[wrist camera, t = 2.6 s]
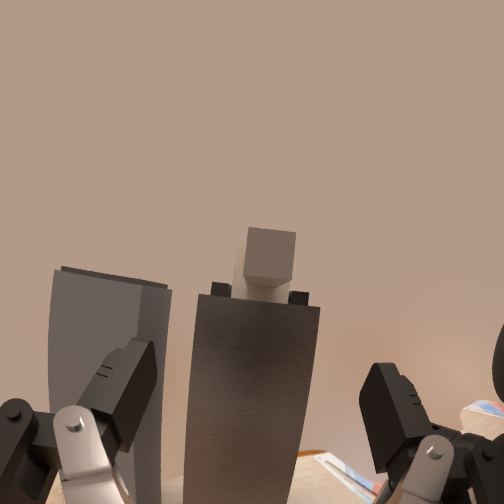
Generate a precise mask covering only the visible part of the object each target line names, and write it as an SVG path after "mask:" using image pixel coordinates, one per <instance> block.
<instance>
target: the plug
mask: <svg viewBox="0 0 504 504" xmlns="http://www.w3.org/2000/svg"><path fill="white" fill-rule="evenodd" d="M295 237H296V232H288V231H279V230H270V229H261V228H252V227H249V228H248V235H247V243H244V242H237V250H236V259H235V267H234V276H233V284H232V292H231V298H237V299H245V300H254V301H263V302H272V303H282V304H288V297H289V287H290V281H291V280H292V270H293V260H294V249H295Z"/></svg>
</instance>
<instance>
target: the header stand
mask: <svg viewBox="0 0 504 504" xmlns="http://www.w3.org/2000/svg"><path fill="white" fill-rule="evenodd" d="M231 292H232V286H231V285H230V284H226V283H218V282H212V287H211V295H204V294H199V296H198V304H197V313H196V322H195V331H194V340H193V351H192V361H191V372H190V384H189V396H188V410H187V424H186V441H185V460H184V485H183V504H286V503H287V499H288V495H289V491H290V487H291V482H292V478H293V474H294V469H295V465H296V460H297V455H298V450H299V445H300V440H301V435H302V430H303V424H304V419H305V414H306V408H307V402H308V396H309V390H310V383H311V377H312V370H313V363H314V356H315V349H316V341H317V333H318V324H319V315H320V307H314V306H308V299H309V293H308V292H298V291H290V292H289V297H288V304H282V303H272V302H263V301H254V300H245V299H237V298H231Z"/></svg>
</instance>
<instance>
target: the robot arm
mask: <svg viewBox="0 0 504 504" xmlns="http://www.w3.org/2000/svg"><path fill="white" fill-rule="evenodd" d="M492 375H493V383H494V387H495V390H496V393H497V395H498V397H499V398H500V400H501V401H502V402H503V403H504V324H503V327H502V329H501V332H500V334H499V337H498V340H497V343H496V347H495V351H494V357H493V364H492ZM156 382H157V364H156V356H155V348H154V343H153V341H151V340H146V339H141V338H136V337H132V338H131V339H130V341H129V342H128V344H127V346H126V347H125V349H122V348H117V349H115V350H114V351H112V352H111V353H109V354H108V355H107V356H106V358H105V359H104V361H103V362H102V364H101V367H99V369H98V370H97V372H96V375H94V376H93V378H92V379H91V381H90V383H89V384H88V386H87V387H86V389H85V391H84V392H83V394H82V395H81V397H80V399H79V400H78V402H77V403H76V405H72V406H67V407H64V408H62V409H61V410H60V411H58V412H57V414H54V413H44V412H36V411H33V410H32V408H31V406H30V405H29V404H28V402H26V401H25V400H23V399H18V398H14V399H10V400H8V401H6V402H5V403H3V404H2V406H1V407H0V504H45V503H46V500H47V498H48V495H49V492H50V490H51V487H52V485H53V482H54V480H55V477H56V475H57V472H58V470H59V469H63V472H64V476H65V480H62V490H63V493H64V497H65V500H66V503H67V504H135V503H134V501H133V499H132V497H131V495H130V493H129V491H128V489H127V487H126V485H125V482H124V480H123V478H122V475H121V473H120V471H119V468H118V466H117V463H116V461H115V457H116V455H117V452H118V451H121V452H125V453H129V450H130V448H131V445H132V442H133V440H134V437H135V435H136V432H137V430H138V427H139V425H140V422H141V420H142V417H143V415H144V412H145V410H146V407H147V405H148V403H149V400H150V398H151V395H152V393H153V390H154V388H155V385H156ZM417 395H418V394H417V392H416V390H415V388H414V385H413V384H412V383H411V382H410V381H409V380H408V379H407V378H406V377H405V376H404V375H402V376H400V374H399V372H398V369H397V367H396V365H395V364H394V363H374V364H373V365H372V367H371V369H370V371H369V374H368V376H367V378H366V380H365V382H364V385H363V387H362V389H361V391H360V396H359V405H360V409H361V413H362V417H363V421H364V425H365V429H366V432H367V436H368V440H369V445H370V448H371V452H372V457H373V461H374V466H375V470H376V474H379V473H385V472H387V473H388V477H389V478H388V479H387V480H386V481H385V483H384V485H383V486H382V488H381V490H380V492H379V493H378V495H377V497H376V498H375V500H374V502H373V503H372V504H504V433H503V434H501V435H499V436H498V437H496V438H495V439H494V440H493V441H491V440H488V439H481V440H478V441H477V442H476V443H475V444H474V445H473V446H472V447H471V448H460V447H453V446H452V444H451V443H450V442H449V441H448V440H447V439H446V438H445V437H442V436H440V435H436V434H435V432H434V430H433V428H432V425H431V423H430V421H429V418H428V416H427V414H426V411H425V409H424V407H423V405H421V400H420V398H419V396H417ZM468 490H469V491H468Z"/></svg>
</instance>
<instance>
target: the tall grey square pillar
mask: <svg viewBox="0 0 504 504" xmlns="http://www.w3.org/2000/svg"><path fill="white" fill-rule="evenodd" d="M167 287H168V285H166V284H161V283H156V282H151V281H146V280H141V279H135V278H129V277H122V276H116V275H109V274H104V273H98V272H93V271H87V270H81V269H75V268H70V267H65V266H62V267H61V271H59V270H54V278H53V285H52V294H51V304H50V317H49V334H48V384H49V403H50V413H54V414H57V412H58V411H60V410H61V409H62V408H64V407H67V406H72V405H76V403H77V402H78V400H79V399H80V397H81V395H82V394H83V392H84V391H85V389H86V387H87V386H88V384H89V383H90V381H91V379H92V378H93V376H94V375H96V372H97V370H98V369H99V367H101V364H102V362H103V361H104V359H105V358H106V356H107V355H108V354H109V353H111V352H112V351H114V350H115V349H117V348H122V349H125V347H126V346H127V344H128V342H129V341H130V339H131V338H132V337H136V338H141V339H146V340H151V341H153V343H154V348H155V356H156V364H157V382H156V385H155V388H154V390H153V393H152V395H151V398H150V400H149V403H148V405H147V407H146V410H145V412H144V415H143V417H142V420H141V422H140V425H139V427H138V430H137V432H136V435H135V437H134V440H133V442H132V445H131V448H130V450H129V453H125V452H121V451H118V452H117V455H116V457H115V461H116V463H117V466H118V468H119V471H120V473H121V475H122V478H123V480H124V482H125V485H126V487H127V489H128V491H129V493H130V495H131V497H132V499H133V501H134V503H135V504H161V422H162V399H163V382H164V367H165V355H166V344H167V333H168V323H169V314H170V305H171V297H172V290H169V289H167ZM58 471H59V476H60V480H61V485H62V480H65V476H64V472H63V469H59V470H58ZM65 501H66V500H65ZM66 504H67V503H66Z"/></svg>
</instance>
